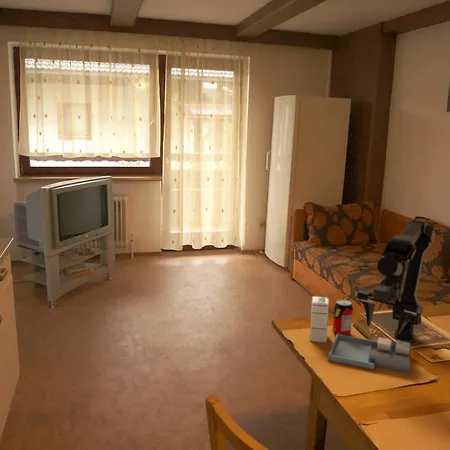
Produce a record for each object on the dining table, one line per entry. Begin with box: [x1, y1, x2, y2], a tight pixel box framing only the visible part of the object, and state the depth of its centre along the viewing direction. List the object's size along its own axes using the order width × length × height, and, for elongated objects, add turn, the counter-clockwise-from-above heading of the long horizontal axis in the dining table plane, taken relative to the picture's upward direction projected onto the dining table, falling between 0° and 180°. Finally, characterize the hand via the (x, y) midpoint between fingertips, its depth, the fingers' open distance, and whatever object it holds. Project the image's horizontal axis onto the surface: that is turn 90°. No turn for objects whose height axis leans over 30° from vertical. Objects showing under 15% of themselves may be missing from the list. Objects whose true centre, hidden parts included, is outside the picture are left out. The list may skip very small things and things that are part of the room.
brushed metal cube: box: [377, 336, 393, 354], centre depth 153 cm, size 4×4×4 cm
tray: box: [327, 334, 376, 371], centre depth 157 cm, size 16×14×2 cm
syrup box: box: [309, 295, 330, 344], centre depth 165 cm, size 6×6×14 cm
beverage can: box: [332, 298, 354, 336], centre depth 169 cm, size 6×6×12 cm
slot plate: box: [368, 337, 412, 375], centre depth 153 cm, size 12×12×4 cm
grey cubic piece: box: [395, 340, 411, 357], centre depth 151 cm, size 4×4×4 cm
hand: (382, 329), depth 144 cm, fingers open, 9 cm apart
